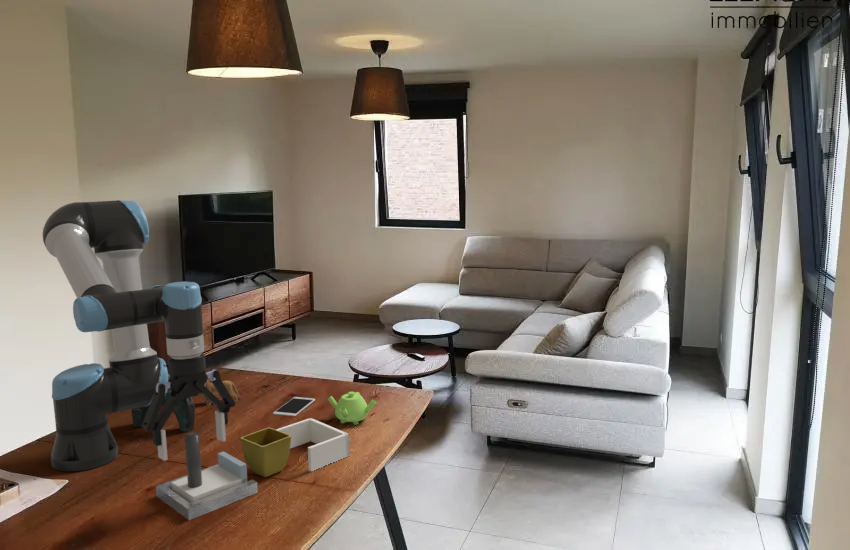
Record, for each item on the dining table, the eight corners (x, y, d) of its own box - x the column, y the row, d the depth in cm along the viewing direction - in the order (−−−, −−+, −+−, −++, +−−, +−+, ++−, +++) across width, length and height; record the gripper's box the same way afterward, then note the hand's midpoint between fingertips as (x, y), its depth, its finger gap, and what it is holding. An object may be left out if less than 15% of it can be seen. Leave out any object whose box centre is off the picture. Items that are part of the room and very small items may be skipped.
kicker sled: (194, 510, 144) (189, 445, 142) (172, 494, 151) (167, 432, 149) (247, 488, 154) (244, 427, 151) (224, 475, 160) (221, 416, 158)
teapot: (362, 410, 203) (361, 383, 201) (378, 423, 193) (377, 395, 191) (326, 417, 197) (326, 389, 196) (341, 431, 188) (340, 401, 186)
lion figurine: (195, 409, 205) (193, 381, 203) (191, 404, 209) (189, 376, 208) (243, 400, 212) (242, 373, 210) (239, 395, 217) (237, 368, 215)
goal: (311, 472, 163) (310, 448, 162) (273, 452, 174) (272, 430, 173) (349, 456, 171) (349, 433, 170) (311, 439, 182) (310, 417, 181)
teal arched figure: (125, 428, 191) (119, 359, 188) (140, 419, 197) (134, 353, 194) (187, 434, 186) (182, 364, 183) (200, 425, 192) (196, 357, 189)
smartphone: (316, 398, 213) (294, 415, 199) (316, 400, 213) (294, 417, 199) (294, 396, 215) (271, 413, 200) (294, 398, 215) (271, 415, 201)
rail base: (189, 520, 141) (188, 509, 140) (156, 496, 151) (155, 486, 151) (257, 492, 153) (257, 482, 152) (223, 472, 163) (222, 462, 162)
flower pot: (270, 460, 169) (269, 426, 168) (293, 470, 164) (292, 435, 162) (241, 473, 162) (239, 437, 161) (264, 483, 157) (262, 446, 156)
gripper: (135, 371, 133) (144, 472, 136) (247, 346, 151) (252, 436, 154) (119, 363, 138) (128, 462, 141) (229, 340, 156) (235, 428, 159)
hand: (193, 448), depth 148 cm, fingers open, 13 cm apart
